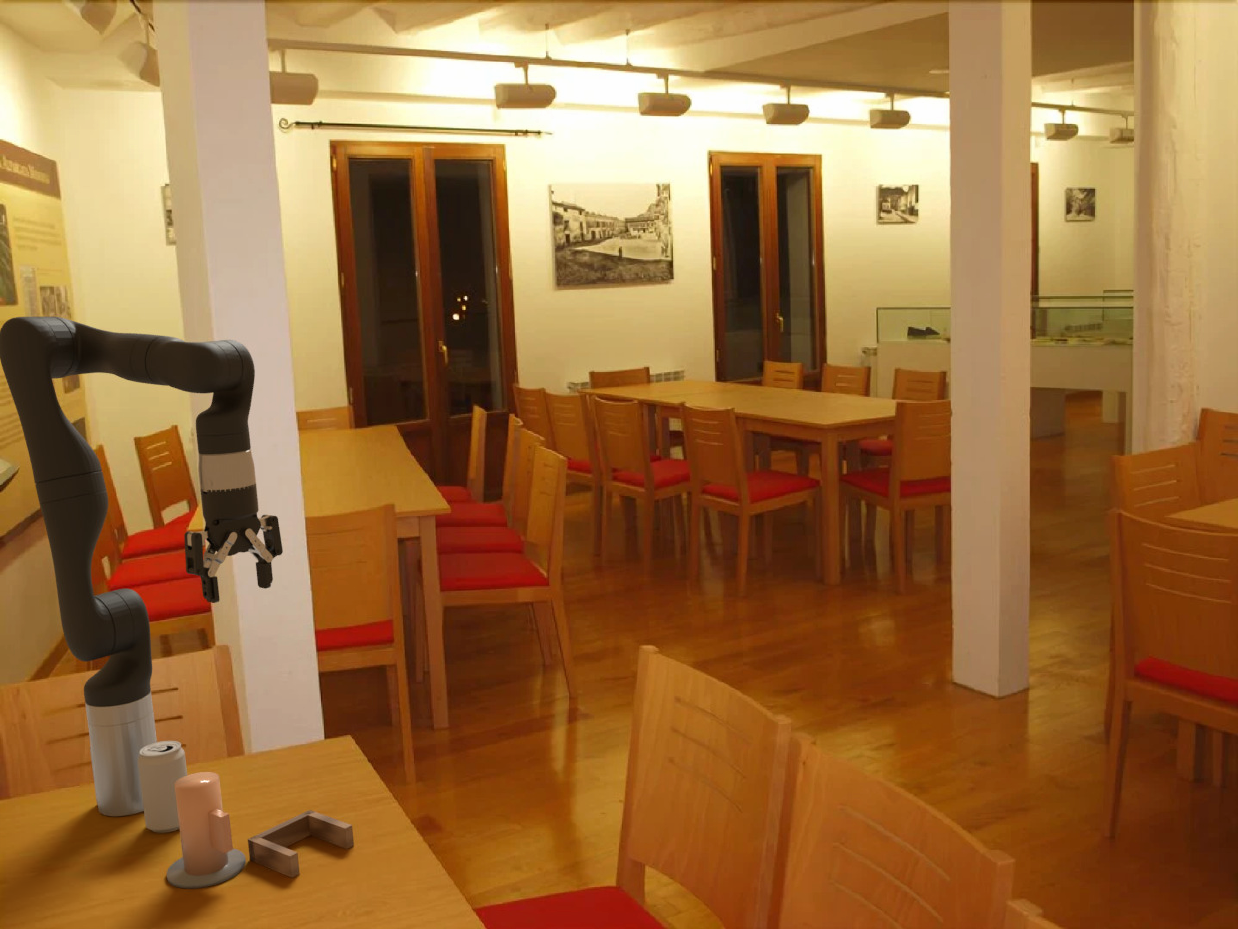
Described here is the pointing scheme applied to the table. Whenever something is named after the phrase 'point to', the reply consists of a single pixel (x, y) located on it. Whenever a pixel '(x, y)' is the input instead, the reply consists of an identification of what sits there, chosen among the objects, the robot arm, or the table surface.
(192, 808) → the peach cylinder with handle
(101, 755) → the robot arm
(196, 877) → the grey dome disc
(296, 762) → the table surface
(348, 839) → the wooden u-shaped frame
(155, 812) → the beverage can
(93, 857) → the table surface
